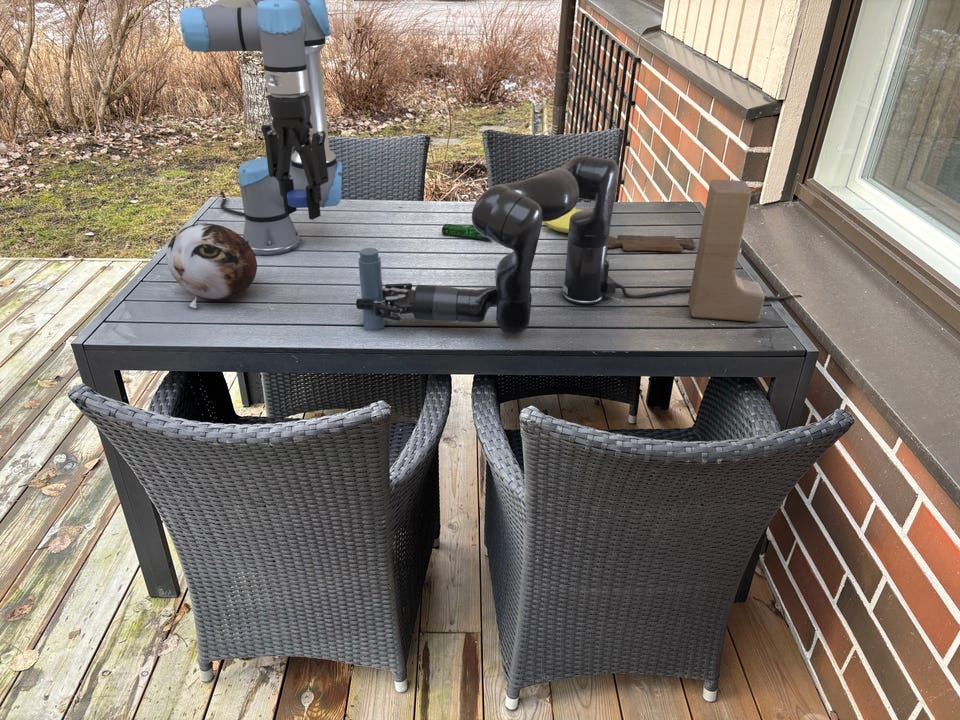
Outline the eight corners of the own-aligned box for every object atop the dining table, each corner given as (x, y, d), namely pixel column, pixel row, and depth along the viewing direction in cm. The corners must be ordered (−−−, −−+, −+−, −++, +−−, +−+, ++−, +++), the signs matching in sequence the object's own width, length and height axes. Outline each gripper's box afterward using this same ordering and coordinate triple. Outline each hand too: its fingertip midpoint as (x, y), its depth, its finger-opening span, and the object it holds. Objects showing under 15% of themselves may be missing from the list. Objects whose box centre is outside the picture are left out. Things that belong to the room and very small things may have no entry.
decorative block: (759, 323, 161) (790, 192, 145) (691, 318, 162) (715, 188, 147) (752, 308, 167) (782, 182, 152) (687, 303, 169) (710, 178, 153)
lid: (309, 208, 140) (308, 198, 138) (283, 206, 140) (281, 196, 139) (319, 199, 144) (318, 189, 143) (293, 197, 145) (292, 188, 144)
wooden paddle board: (698, 254, 196) (690, 241, 205) (699, 248, 195) (691, 235, 204) (604, 251, 196) (600, 238, 205) (605, 245, 195) (601, 232, 204)
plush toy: (130, 285, 161) (164, 203, 163) (192, 308, 177) (221, 233, 178) (195, 307, 151) (229, 220, 152) (254, 330, 166) (285, 250, 168)
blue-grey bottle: (360, 322, 159) (355, 248, 150) (381, 318, 160) (376, 245, 151) (366, 331, 155) (361, 256, 146) (387, 327, 157) (383, 253, 148)
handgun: (511, 219, 210) (493, 234, 198) (511, 228, 211) (492, 244, 199) (461, 212, 215) (440, 226, 203) (461, 221, 217) (440, 236, 204)
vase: (559, 216, 220) (561, 193, 217) (605, 227, 212) (608, 204, 209) (532, 230, 209) (533, 207, 206) (580, 242, 201) (582, 218, 198)
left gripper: (235, 92, 132) (254, 213, 144) (316, 103, 125) (328, 228, 137) (263, 85, 138) (279, 202, 150) (341, 95, 131) (351, 217, 143)
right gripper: (442, 273, 157) (367, 269, 159) (431, 302, 145) (349, 296, 147) (443, 304, 161) (369, 299, 163) (432, 334, 149) (352, 329, 151)
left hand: (302, 214), depth 143 cm, fingers closed on lid, 5 cm apart
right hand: (360, 298), depth 155 cm, fingers closed on blue-grey bottle, 4 cm apart
